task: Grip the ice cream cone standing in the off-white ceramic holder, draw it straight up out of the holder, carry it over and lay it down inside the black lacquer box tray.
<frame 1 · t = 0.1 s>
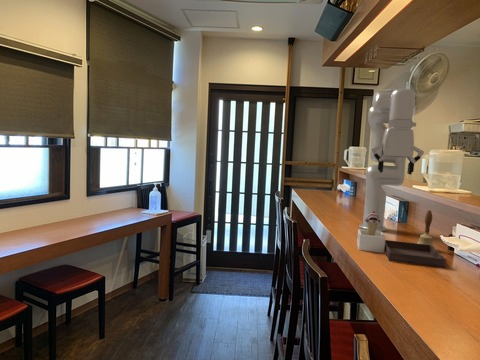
hand: (395, 173, 124), 31 cm above the counter, tool pointing down, fingers open, 9 cm apart
ice cream cone: (369, 248, 138), resting in holder
hand bell: (424, 249, 140), on the counter
tray: (410, 256, 129), on the counter
holder: (369, 247, 138), on the counter
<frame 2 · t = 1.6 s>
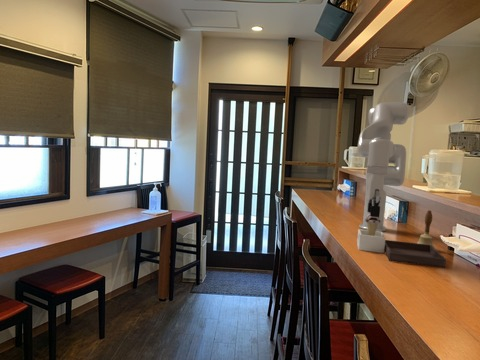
hand: (373, 214, 135), 14 cm above the counter, tool pointing down, fingers open, 9 cm apart
nothing on the counter moved.
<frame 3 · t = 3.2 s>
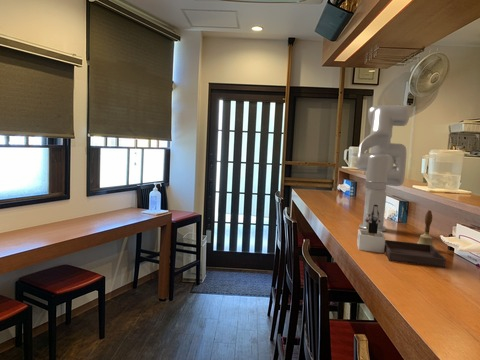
hand: (371, 230, 137), 7 cm above the counter, tool pointing down, fingers closed on ice cream cone, 5 cm apart
ice cream cone: (369, 248, 138), resting in holder, touching gripper
everything else where it was.
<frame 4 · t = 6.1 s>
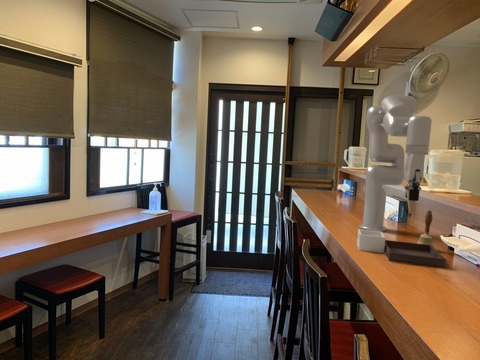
hand: (411, 198, 128), 22 cm above the counter, tool pointing down, fingers closed on ice cream cone, 5 cm apart
ice cream cone: (409, 218, 129), point 14 cm above the counter, touching gripper
everything else where it was.
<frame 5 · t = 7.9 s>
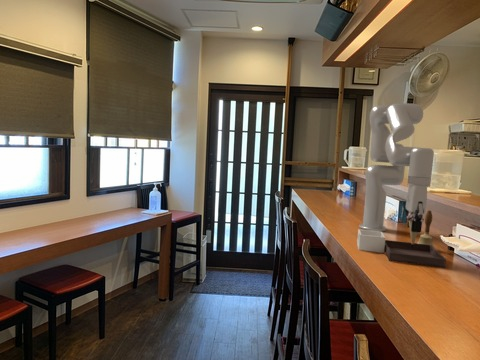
hand: (413, 229, 128), 10 cm above the counter, tool pointing down, fingers closed on ice cream cone, 5 cm apart
ice cream cone: (411, 248, 129), point 3 cm above the counter, touching gripper
everything else where it was.
when the fingers open (8 cm above the counter, at t = 9.1 s): ice cream cone moves 1 cm, resting on tray.
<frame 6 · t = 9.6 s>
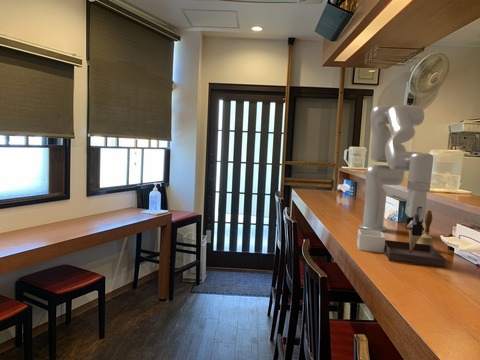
hand: (413, 232, 128), 9 cm above the counter, tool pointing down, fingers open, 9 cm apart
ice cream cone: (409, 254, 130), resting on tray, touching gripper
everything else where it was.
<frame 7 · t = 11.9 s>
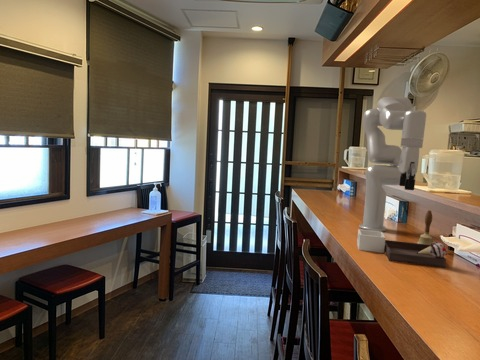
hand: (406, 187, 134), 25 cm above the counter, tool pointing down, fingers open, 9 cm apart
ice cream cone: (415, 253, 131), point 1 cm above the counter, touching tray
everything else where it was.
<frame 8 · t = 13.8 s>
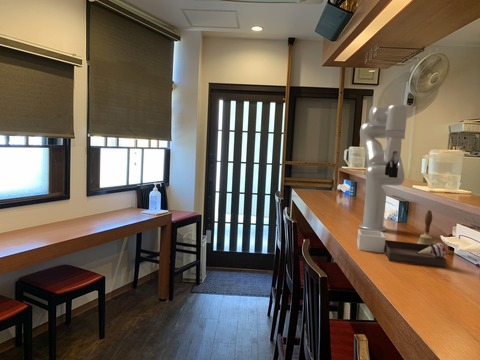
hand: (390, 176, 144), 28 cm above the counter, tool pointing down, fingers open, 9 cm apart
nothing on the counter moved.
at the end: ice cream cone inside the target area on the tray (3.6 cm from its centre), point 0.7 cm above the tray's base; the gripper is holding nothing; ice cream cone touching tray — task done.
